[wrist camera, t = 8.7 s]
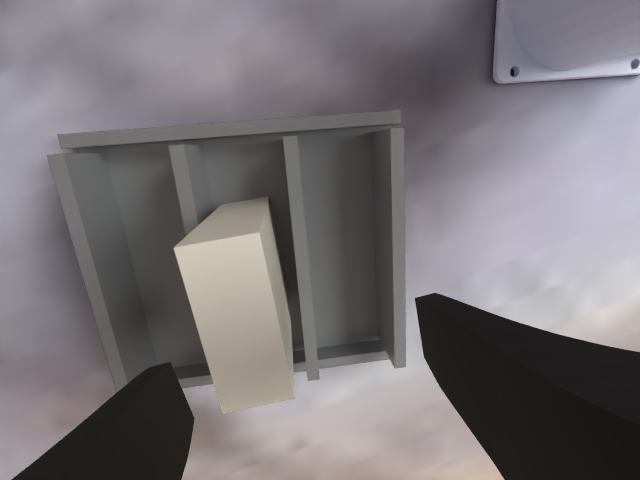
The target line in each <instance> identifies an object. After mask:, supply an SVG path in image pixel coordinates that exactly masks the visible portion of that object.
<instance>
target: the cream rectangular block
mask: <svg viewBox="0 0 640 480" xmlns="http://www.w3.org/2000/svg"><path fill="white" fill-rule="evenodd" d="M174 251H175V255H176V258H177V261H178V265H179V268H180V272H181V275H182V278H183V282H184V285H185V289H186V292H187V295H188V299H189V302H190V305H191V309H192V312H193V316H194V319H195V322H196V326H197V329H198V333H199V336H200V339H201V343H202V346H203V350H204V353H205V356H206V360H207V363H208V367H209V370H210V373H211V377H212V380H213V383H214V387H215V390H216V394H217V397H218V400H219V404H220V407H221V411H222V414H224V413H229V412H233V411H238V410H243V409H247V408H252V407H257V406H261V405H266V404H271V403H275V402H280V401H285V400H289V399H294V398H295V390H294V371H293V352H292V334H291V315H290V298H289V293H288V288H287V283H286V278H285V273H284V268H283V263H282V258H281V253H280V248H279V243H278V238H277V233H276V228H275V223H274V218H273V213H272V208H271V203H270V198H269V196H268V197H262V198H256V199H250V200H244V201H238V202H233V203H227V204H222V205H221V206H219V207H218V208H217V209H216V210H215V211H214V212H213V213H212V214H211V215H209V216H208V217H207V218H206V219H205V220H204V221H203V222H202V223H200V224H199V225H198V226H197V227H196V228H195V229H194V230H193V231H192V232H190V233H189V234H188V235H187V236H186V237H185V238H184V239H183V240H181V241H180V242H179V243H178V244H177V245H176V246H175V247H174Z"/></svg>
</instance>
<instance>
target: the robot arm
mask: <svg viewBox="0 0 640 480" xmlns="http://www.w3.org/2000/svg"><path fill="white" fill-rule="evenodd" d="M631 62H632V67H631ZM511 68H512V69H513V70H514V76H513V77H512V76H511V75H510V70H511ZM627 75H640V0H497V11H496V28H495V45H494V62H493V79H494V81H495V82H496V83H499V84H507V83H522V82H537V81H552V80H567V79H582V78H597V77H612V76H627ZM415 302H416V308H417V315H418V321H419V328H420V334H421V340H422V347H423V353H424V358H425V360H426V362H427V364H428V365H429V367H430V369H431V371H432V373H433V375H434V377H435V378H436V380H437V382H438V384H439V386H440V388H441V389H442V390H443V392H444V393H445V395H446V396H447V398H448V399H449V400H450V402H451V403H452V405H453V406H454V408H455V409H456V410H457V412H458V413H459V415H460V416H461V417H462V419H463V420H464V422H465V423H466V425H467V426H468V427H469V429H470V430H471V432H472V433H473V434H474V436H475V437H476V439H477V440H478V441H479V443H480V444H481V446H482V447H483V448H484V450H485V451H486V453H487V454H488V455H489V457H490V458H491V460H492V461H493V462H494V464H495V465H496V467H497V469H498V470H499V472H500V473H501V475H502V476H503V478H504V479H505V480H640V352H635V351H629V350H624V349H619V348H614V347H609V346H604V345H600V344H595V343H591V342H587V341H583V340H579V339H575V338H570V337H566V336H562V335H559V334H555V333H551V332H548V331H544V330H541V329H538V328H534V327H531V326H528V325H525V324H521V323H518V322H515V321H512V320H509V319H506V318H503V317H500V316H498V315H495V314H492V313H489V312H487V311H484V310H481V309H478V308H476V307H473V306H470V305H468V304H465V303H463V302H460V301H457V300H455V299H452V298H449V297H446V296H443V295H440V294H437V293H433V294H429V295H425V296H421V297H418V298H415ZM193 424H194V417H193V414H192V412H191V409H190V407H189V405H188V402H187V400H186V398H185V395H184V393H183V390H182V388H181V386H180V383H179V381H178V379H177V376H176V374H175V371H174V369H173V367H172V364H171V362H167V363H164V364H160V365H156V366H152V367H149V368H147V369H146V370H144V371H143V372H142V373H140V374H139V375H138V376H136V377H135V378H134V379H133V380H131V381H130V382H129V383H128V384H127V385H125V386H124V387H123V388H122V389H121V390H119V391H118V392H117V393H116V394H115V395H114V396H112V397H111V398H110V399H109V400H108V401H107V402H105V403H104V404H103V405H102V406H101V407H100V408H98V409H97V410H96V411H95V412H94V413H93V414H91V415H90V416H89V417H88V418H87V419H86V420H84V421H83V422H82V423H81V424H80V425H79V426H77V427H76V428H75V429H74V430H73V431H71V432H70V433H69V434H68V435H66V436H65V437H64V438H63V439H62V440H60V441H59V442H58V443H57V444H55V445H54V446H53V447H52V448H51V449H49V450H48V451H47V452H46V453H44V454H43V455H42V456H41V457H40V458H38V459H37V460H36V461H35V462H33V463H32V464H31V465H30V466H28V467H27V468H26V469H25V470H23V471H22V472H21V473H19V474H18V475H17V476H16V477H14V478H13V479H12V480H181V479H182V475H183V472H184V468H185V465H186V462H187V458H188V453H189V448H190V443H191V437H192V431H193Z"/></svg>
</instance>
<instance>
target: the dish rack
mask: <svg viewBox="0 0 640 480" xmlns="http://www.w3.org/2000/svg"><path fill="white" fill-rule="evenodd" d="M399 123H401V110H390V111H377V112H363V113H349V114H335V115H321V116H307V117H293V118H279V119H265V120H251V121H237V122H224V123H210V124H196V125H182V126H168V127H154V128H140V129H126V130H112V131H98V132H84V133H71V134H57V135H58V139H59V142H60V146H61V149H78V153H79V154H53V155H47V158H48V161H49V164H50V168H51V171H52V175H53V178H54V181H55V185H56V188H57V192H58V195H59V198H60V202H61V205H62V209H63V212H64V215H65V219H66V222H67V226H68V229H69V232H70V236H71V239H72V243H73V246H74V249H75V253H76V256H77V260H78V263H79V266H80V270H81V273H82V277H83V280H84V283H85V287H86V290H87V294H88V297H89V300H90V304H91V307H92V311H93V314H94V317H95V321H96V324H97V328H98V331H99V334H100V338H101V341H102V345H103V348H104V351H105V355H106V358H107V362H108V365H109V368H110V372H111V375H112V379H113V382H114V385H115V389H116V392H118V391H119V390H121V389H122V388H123V387H124V386H125V385H127V384H128V383H129V382H130V381H131V380H133V379H134V378H135V377H136V376H138V375H139V374H140V373H142V372H143V371H144V370H146V369H147V368H149V367H152V366H156V365H160V364H164V363H167V362H171V364H172V367H173V369H174V371H175V374H176V376H177V379H178V381H179V383H180V386H181V388H187V387H194V386H201V385H208V384H214V383H213V380H212V377H211V373H210V370H209V367H208V363H207V360H206V356H205V353H204V350H203V346H202V343H201V339H200V336H199V333H198V329H197V326H196V322H195V319H194V316H193V312H192V309H191V305H190V302H189V299H188V295H187V292H186V289H185V285H184V282H183V278H182V275H181V272H180V268H179V265H178V261H177V258H176V255H175V251H174V247H175V246H176V245H177V244H178V243H179V242H180V241H181V240H183V239H184V238H185V237H186V236H187V235H188V234H189V233H190V232H192V231H193V230H194V229H195V228H196V227H197V226H198V225H199V224H200V223H202V222H203V221H204V220H205V219H206V218H207V217H208V216H209V215H211V214H212V213H213V212H214V211H215V210H216V209H217V208H218V207H219V206H221V205H222V204H227V203H233V202H238V201H244V200H250V199H256V198H262V197H268V196H269V198H270V203H271V208H272V213H273V218H274V223H275V228H276V233H277V238H278V243H279V248H280V253H281V258H282V263H283V268H284V273H285V278H286V283H287V288H288V293H289V298H290V315H291V334H292V352H293V371H294V372H301V371H307V377H308V381H311V380H318V379H319V369H323V368H330V367H337V366H344V365H351V364H358V363H365V362H372V361H380V360H387V359H390V360H391V362H392V364H393V366H394V368H402V367H406V313H405V178H404V128H393V125H394V124H399Z"/></svg>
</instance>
